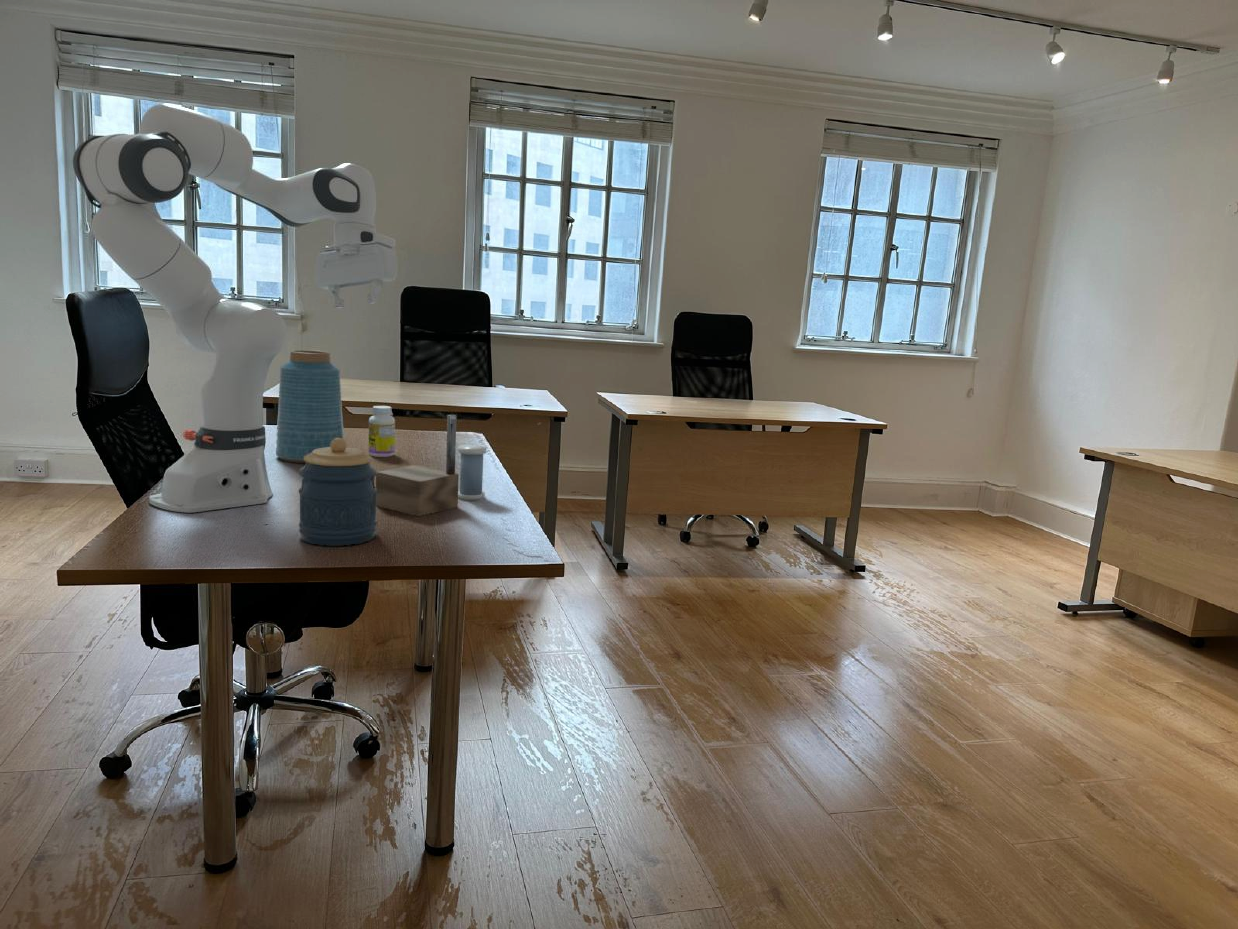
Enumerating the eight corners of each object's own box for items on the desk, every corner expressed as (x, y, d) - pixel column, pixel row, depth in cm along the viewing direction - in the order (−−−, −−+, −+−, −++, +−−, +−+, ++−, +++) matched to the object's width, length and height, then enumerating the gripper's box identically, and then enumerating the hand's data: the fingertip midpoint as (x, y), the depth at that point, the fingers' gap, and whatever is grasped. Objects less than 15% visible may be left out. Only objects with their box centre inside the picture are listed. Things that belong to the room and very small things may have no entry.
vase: (274, 452, 216) (272, 347, 211) (340, 451, 223) (340, 350, 218) (278, 465, 202) (276, 353, 197) (348, 463, 209) (349, 355, 204)
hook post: (447, 478, 167) (448, 418, 165) (445, 472, 173) (447, 414, 171) (456, 478, 168) (458, 419, 165) (454, 472, 173) (456, 414, 171)
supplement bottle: (366, 453, 223) (366, 405, 221) (391, 452, 226) (392, 405, 224) (371, 458, 218) (371, 408, 215) (397, 457, 221) (397, 408, 218)
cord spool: (471, 502, 179) (473, 451, 177) (450, 497, 182) (452, 446, 180) (490, 497, 184) (492, 447, 182) (469, 492, 187) (471, 443, 185)
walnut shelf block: (418, 516, 165) (419, 481, 163) (375, 505, 171) (376, 471, 169) (457, 507, 174) (458, 473, 172) (415, 497, 180) (416, 464, 179)
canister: (333, 523, 156) (333, 429, 153) (391, 534, 152) (393, 437, 149) (282, 539, 144) (280, 438, 141) (343, 552, 140) (344, 447, 137)
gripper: (307, 244, 185) (308, 307, 185) (382, 232, 177) (383, 297, 176) (328, 251, 191) (328, 312, 190) (402, 239, 183) (402, 303, 182)
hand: (355, 305), depth 183 cm, fingers open, 8 cm apart
